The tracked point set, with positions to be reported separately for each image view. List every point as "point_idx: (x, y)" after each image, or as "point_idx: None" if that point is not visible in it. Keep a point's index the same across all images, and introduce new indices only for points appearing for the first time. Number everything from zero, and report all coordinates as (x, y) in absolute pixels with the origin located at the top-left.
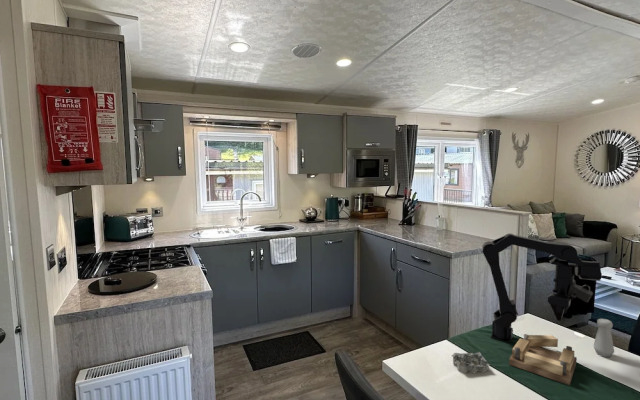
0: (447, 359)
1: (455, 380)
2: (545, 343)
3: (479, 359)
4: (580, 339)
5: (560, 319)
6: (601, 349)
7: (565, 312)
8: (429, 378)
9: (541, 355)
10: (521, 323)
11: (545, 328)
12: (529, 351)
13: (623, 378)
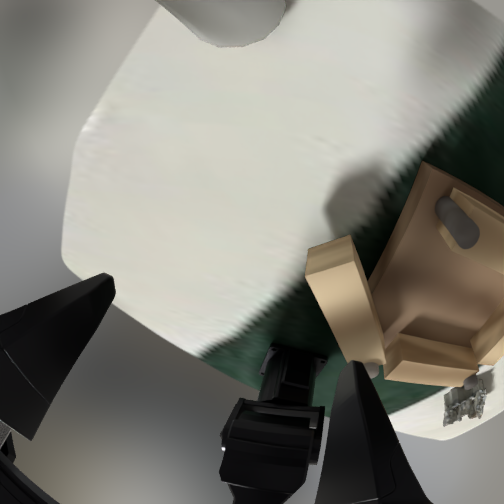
0: (436, 417)
1: (494, 398)
2: (369, 295)
3: (451, 398)
4: (124, 105)
5: (366, 377)
6: (278, 14)
7: (104, 284)
8: (483, 414)
9: (443, 303)
10: (128, 294)
11: (109, 227)
12: (419, 332)
13: (464, 19)
